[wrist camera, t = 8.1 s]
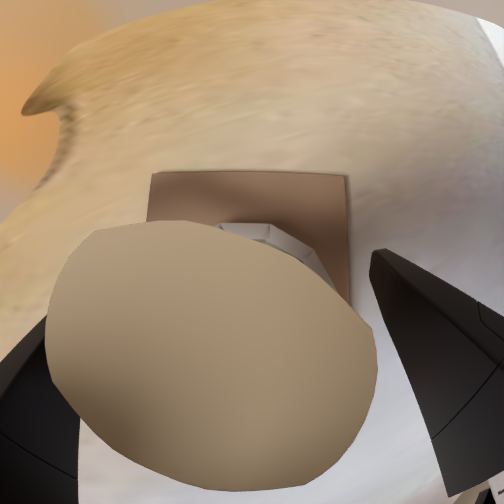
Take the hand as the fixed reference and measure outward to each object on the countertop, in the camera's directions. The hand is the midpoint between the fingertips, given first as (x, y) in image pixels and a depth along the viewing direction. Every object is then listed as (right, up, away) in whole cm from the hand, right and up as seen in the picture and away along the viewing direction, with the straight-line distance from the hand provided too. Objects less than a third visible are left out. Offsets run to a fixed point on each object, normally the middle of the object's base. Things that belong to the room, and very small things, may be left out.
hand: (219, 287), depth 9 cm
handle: (0, -3, +11) cm, 12 cm away
